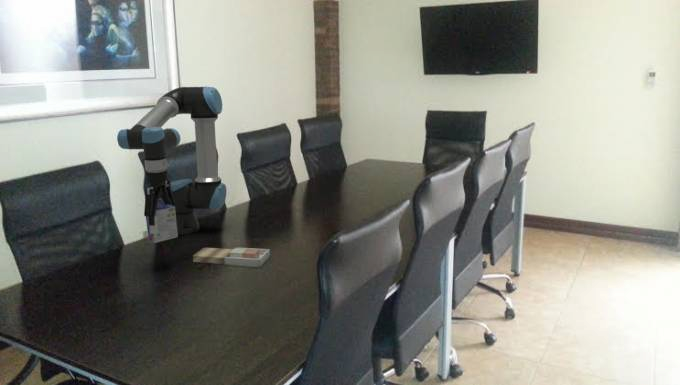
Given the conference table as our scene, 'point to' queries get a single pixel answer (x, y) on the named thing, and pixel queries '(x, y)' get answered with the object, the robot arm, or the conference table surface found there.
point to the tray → (249, 259)
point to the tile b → (250, 254)
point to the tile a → (237, 253)
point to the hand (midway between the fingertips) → (162, 228)
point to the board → (212, 255)
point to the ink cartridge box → (164, 223)
